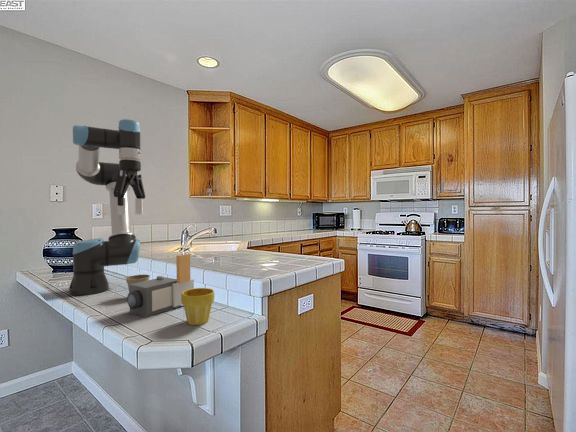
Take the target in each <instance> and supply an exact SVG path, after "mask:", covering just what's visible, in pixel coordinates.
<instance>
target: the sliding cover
mask: <svg viewBox="0 0 576 432" xmlns="http://www.w3.org/2000/svg"><path fill="white" fill-rule="evenodd" d="M175 257H176V258H175V259H176V261H175V263H176V264H175V265H176V279H177V283H174V284H172V297H173V307H176V306H179V305H181V306H182V305H183V304H182V302H181V294H182V292H183V291H185V290H188V289H194V288H195V282H194V281H195V279H193V278H191V254H190V253H185V254H179V255H175Z"/></svg>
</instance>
